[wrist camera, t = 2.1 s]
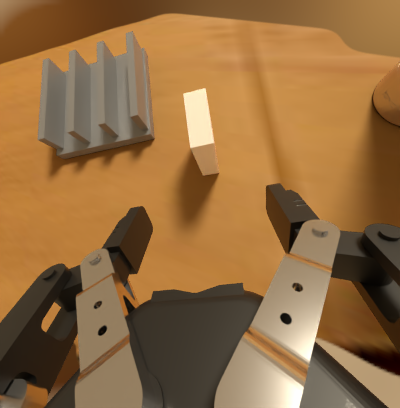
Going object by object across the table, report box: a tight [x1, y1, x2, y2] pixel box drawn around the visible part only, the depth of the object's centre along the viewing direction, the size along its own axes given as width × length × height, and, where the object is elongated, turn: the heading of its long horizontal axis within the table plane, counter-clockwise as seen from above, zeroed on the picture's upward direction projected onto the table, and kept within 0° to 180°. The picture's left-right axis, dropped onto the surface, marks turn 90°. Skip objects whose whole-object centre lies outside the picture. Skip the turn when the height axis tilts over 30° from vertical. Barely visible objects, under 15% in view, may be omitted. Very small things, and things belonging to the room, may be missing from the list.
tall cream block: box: [184, 88, 219, 176], centre depth 24 cm, size 7×3×9 cm, turn 7°
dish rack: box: [38, 31, 154, 159], centre depth 31 cm, size 18×18×5 cm
